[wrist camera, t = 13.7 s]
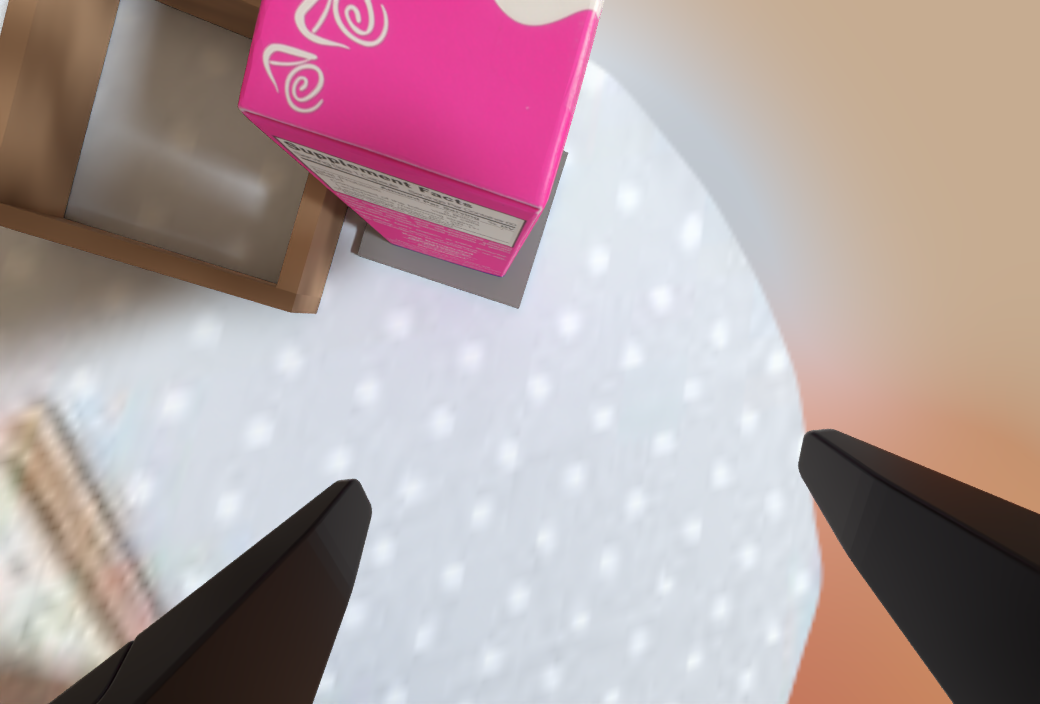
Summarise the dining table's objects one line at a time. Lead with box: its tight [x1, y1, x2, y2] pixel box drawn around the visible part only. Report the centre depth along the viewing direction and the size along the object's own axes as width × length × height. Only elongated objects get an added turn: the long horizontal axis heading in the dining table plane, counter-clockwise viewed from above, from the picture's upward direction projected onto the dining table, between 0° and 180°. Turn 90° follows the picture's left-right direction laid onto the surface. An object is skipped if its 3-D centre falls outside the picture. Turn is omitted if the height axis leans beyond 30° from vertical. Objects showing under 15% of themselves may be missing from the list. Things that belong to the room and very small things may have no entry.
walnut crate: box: [0, 0, 348, 314], centre depth 15 cm, size 12×12×2 cm
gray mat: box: [357, 151, 568, 308], centre depth 18 cm, size 8×8×1 cm
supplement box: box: [238, 0, 604, 277], centre depth 12 cm, size 6×6×12 cm
